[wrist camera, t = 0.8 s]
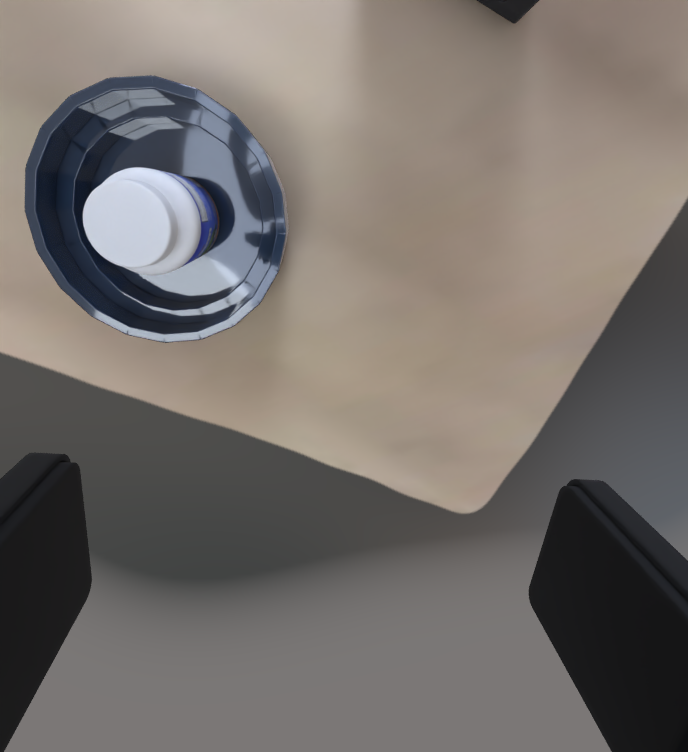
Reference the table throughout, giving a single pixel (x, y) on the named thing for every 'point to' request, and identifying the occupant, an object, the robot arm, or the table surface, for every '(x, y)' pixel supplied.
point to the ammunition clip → (510, 7)
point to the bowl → (169, 154)
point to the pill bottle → (150, 220)
